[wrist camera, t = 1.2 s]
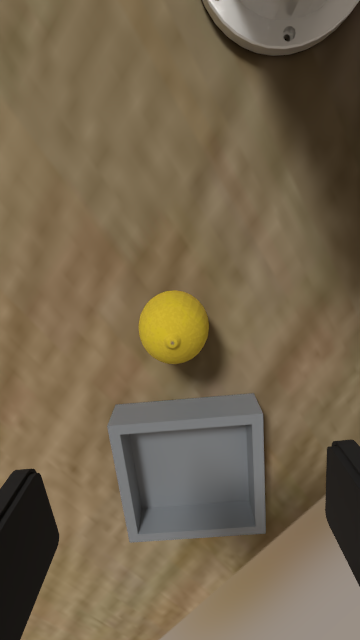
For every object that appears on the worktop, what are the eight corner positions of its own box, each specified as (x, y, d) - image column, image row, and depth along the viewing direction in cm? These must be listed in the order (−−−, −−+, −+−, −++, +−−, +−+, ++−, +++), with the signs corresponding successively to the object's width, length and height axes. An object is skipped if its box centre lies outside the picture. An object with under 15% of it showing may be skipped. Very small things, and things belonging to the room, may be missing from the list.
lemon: (217, 315, 27) (230, 347, 20) (172, 352, 28) (169, 395, 21) (177, 270, 26) (175, 285, 18) (132, 310, 27) (113, 339, 20)
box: (115, 404, 30) (107, 426, 27) (253, 393, 29) (262, 413, 26) (134, 511, 34) (129, 542, 30) (257, 503, 33) (265, 533, 30)
